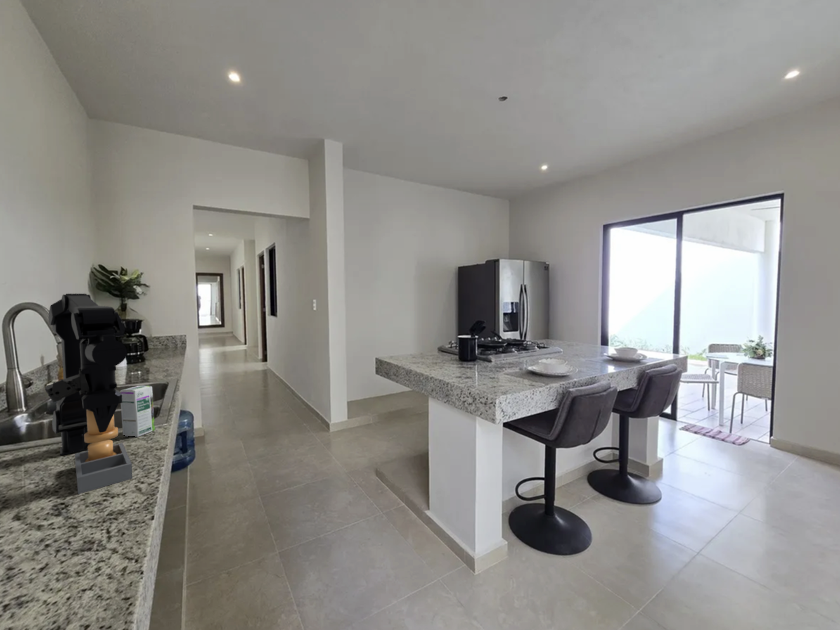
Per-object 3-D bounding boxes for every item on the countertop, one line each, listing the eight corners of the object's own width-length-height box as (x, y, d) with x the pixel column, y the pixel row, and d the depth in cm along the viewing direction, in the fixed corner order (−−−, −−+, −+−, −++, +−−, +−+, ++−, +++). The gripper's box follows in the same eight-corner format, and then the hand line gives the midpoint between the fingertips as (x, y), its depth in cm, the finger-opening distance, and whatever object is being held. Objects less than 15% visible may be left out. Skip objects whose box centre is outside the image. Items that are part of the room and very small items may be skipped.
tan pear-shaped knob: (83, 438, 82) (82, 408, 81) (116, 431, 86) (115, 402, 85) (85, 445, 78) (83, 413, 77) (119, 437, 82) (118, 407, 81)
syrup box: (137, 437, 107) (135, 390, 106) (121, 436, 108) (119, 389, 108) (155, 430, 113) (153, 385, 112) (140, 429, 114) (137, 384, 113)
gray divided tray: (75, 467, 88) (74, 443, 88) (123, 455, 94) (122, 433, 94) (78, 494, 76) (76, 466, 75) (132, 478, 82) (131, 453, 82)
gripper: (48, 362, 82) (52, 428, 82) (45, 373, 69) (50, 452, 69) (111, 356, 90) (114, 416, 90) (120, 365, 77) (124, 436, 77)
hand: (101, 429), depth 82 cm, fingers closed on tan pear-shaped knob, 5 cm apart
